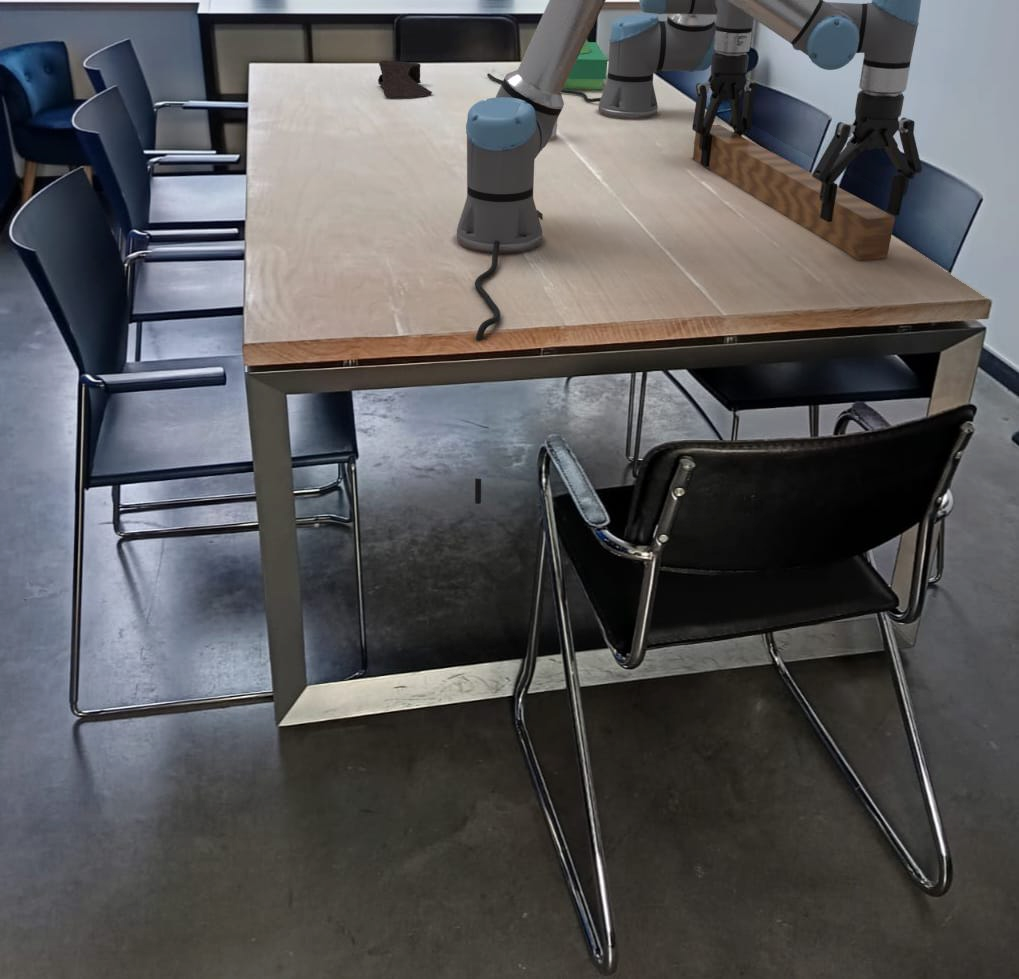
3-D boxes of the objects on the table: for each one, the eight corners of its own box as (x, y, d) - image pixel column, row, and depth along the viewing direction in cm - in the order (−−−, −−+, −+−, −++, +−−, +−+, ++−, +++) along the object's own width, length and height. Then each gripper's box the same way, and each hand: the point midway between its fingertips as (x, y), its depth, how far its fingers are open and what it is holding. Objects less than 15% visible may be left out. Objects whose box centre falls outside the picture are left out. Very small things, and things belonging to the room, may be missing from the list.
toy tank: (594, 24, 327) (608, 45, 298) (591, 67, 334) (605, 92, 304) (535, 23, 327) (543, 44, 297) (533, 66, 333) (541, 91, 303)
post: (886, 258, 192) (895, 217, 188) (859, 260, 191) (867, 219, 187) (714, 157, 247) (718, 124, 243) (692, 159, 246) (696, 125, 242)
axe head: (443, 87, 294) (392, 77, 287) (436, 115, 299) (385, 106, 292) (421, 62, 307) (371, 52, 300) (414, 89, 311) (365, 80, 304)
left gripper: (932, 83, 189) (908, 204, 200) (803, 91, 183) (786, 216, 194) (959, 92, 183) (932, 216, 194) (827, 100, 177) (808, 229, 188)
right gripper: (698, 57, 223) (686, 171, 235) (779, 54, 228) (763, 166, 240) (682, 50, 229) (671, 162, 241) (762, 48, 234) (747, 157, 246)
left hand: (859, 216), depth 194 cm, fingers open, 13 cm apart
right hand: (717, 163), depth 241 cm, fingers closed on post, 6 cm apart
